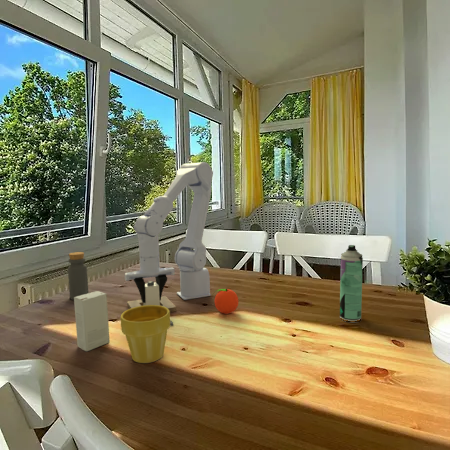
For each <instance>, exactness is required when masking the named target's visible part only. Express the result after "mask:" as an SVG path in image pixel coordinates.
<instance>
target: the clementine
mask: <svg viewBox="0 0 450 450" xmlns="http://www.w3.org/2000/svg"><path fill="white" fill-rule="evenodd" d="M215 292H217V293H216V295H215V296H214V306H215V308H216V309H217V311H218V312H219V313H221V314H225V315H227V314H232V313H233V312H235V311H236V310H237V308H238V306H239V301H240V300H239V297H238V294H237V293H236V292H235V291H234V290H232V289H230V288H220V289H216V291H214V293H215Z"/></svg>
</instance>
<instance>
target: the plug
mask: <svg viewBox="0 0 450 450" xmlns="http://www.w3.org/2000/svg"><path fill="white" fill-rule="evenodd" d="M144 305H160V299H159V285H158V284H157V283H156V281H153V280H151V281H150V280H149V281H147V282H145V303H143V306H144Z"/></svg>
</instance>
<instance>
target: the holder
mask: <svg viewBox="0 0 450 450" xmlns="http://www.w3.org/2000/svg"><path fill="white" fill-rule="evenodd" d="M126 305H127V307H128V309H131V308H134V307H138V306H143V302H142V300H141V299H135V300H129V301H127V304H126ZM160 306H164V307H166V308H168V309H169V311H170V313H173V312H177V306H176V305H175V304H174V303H173V302H172V301H171V300H170V299H169V298H168V297H167V296H166V295H162V296H161V300H160Z"/></svg>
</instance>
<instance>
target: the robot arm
mask: <svg viewBox="0 0 450 450" xmlns="http://www.w3.org/2000/svg"><path fill="white" fill-rule="evenodd" d="M213 176H214V171H213V170H212V167H211V165H210V164H209V163H208V162H206V161H201V162H193V163H191V162H190V163H183V164H181V165H180V168H179V169H177V170H176V175H175V178H174V179H173V180H172V182H171V183H170V185H169V187H168V188H167V189H166V191H165V192H164V194H163V195H159V196H157V197H154V199H153V200H152V201H153V202H152V204H151V205H150V206H149V207H148V209H147V210H145V211H144V214H143V215H141V216H139V217H137V218H136V221H135V224H134V225H133V230H134V232H135V233H136V235H137V239H138V252H139V255H138V256H139V270H135V271H130V272H124V280H125V282H128V281H131V280H132V281H133V282H134V284H135V285H136V287H137V289H138V292H139V294H140V295H139V296H140V298H141V299H140V300H142V302H143V303H145V284H146V281H145V280H144V279H147V278H154V277H155V282H156V283H157V284H158V285H159V299H160V300H161V296H163V291H164V287H165V285H166V283H167V281H168V277H167V276H175V274H176V273H175V272H176V271H175V268H174V267H160V264H161V263H160V244H159V242H160V241H159V234H160V233H162V231H163V224H164V223H165V220H166V218H167V217H168V215H170V213H171V212H172V210H173V209H174V201H175V200H176V199H177V198H178V196H179V195H180V194H181V193H183V191H184V189H186V187H188V188H190V190H192V192H193V194H194V195H193V198H192V203H191V209H190V213H189V219H188V224H187V228H186V234H185V239H183V240H182V241H181V242H180V243H179V244H178V247H177V250H176V251H175V254H174V263H175V265H177V266H178V269H177V270H179V281H180V283H179V285H180V286H179V287H180V291H176V295H178V296H179V298H181V299H182V300H184V301H187V300H192V299H199V298H205V297H210V296H212V294H211V286H210V285H211V284H210V283H211V282H210V281H211V280H210V279H211V277H210V272H209V270H208V268H206V267H205V265H206V263H207V247H206V246H205V244H204V243H203V236H204V233H205V232H204V231H205V225H206V220H207V216H208V209H209V206H210V205H209V204H210V201H211V194H212V182H213V181H212V180H213V178H214V177H213Z"/></svg>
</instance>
